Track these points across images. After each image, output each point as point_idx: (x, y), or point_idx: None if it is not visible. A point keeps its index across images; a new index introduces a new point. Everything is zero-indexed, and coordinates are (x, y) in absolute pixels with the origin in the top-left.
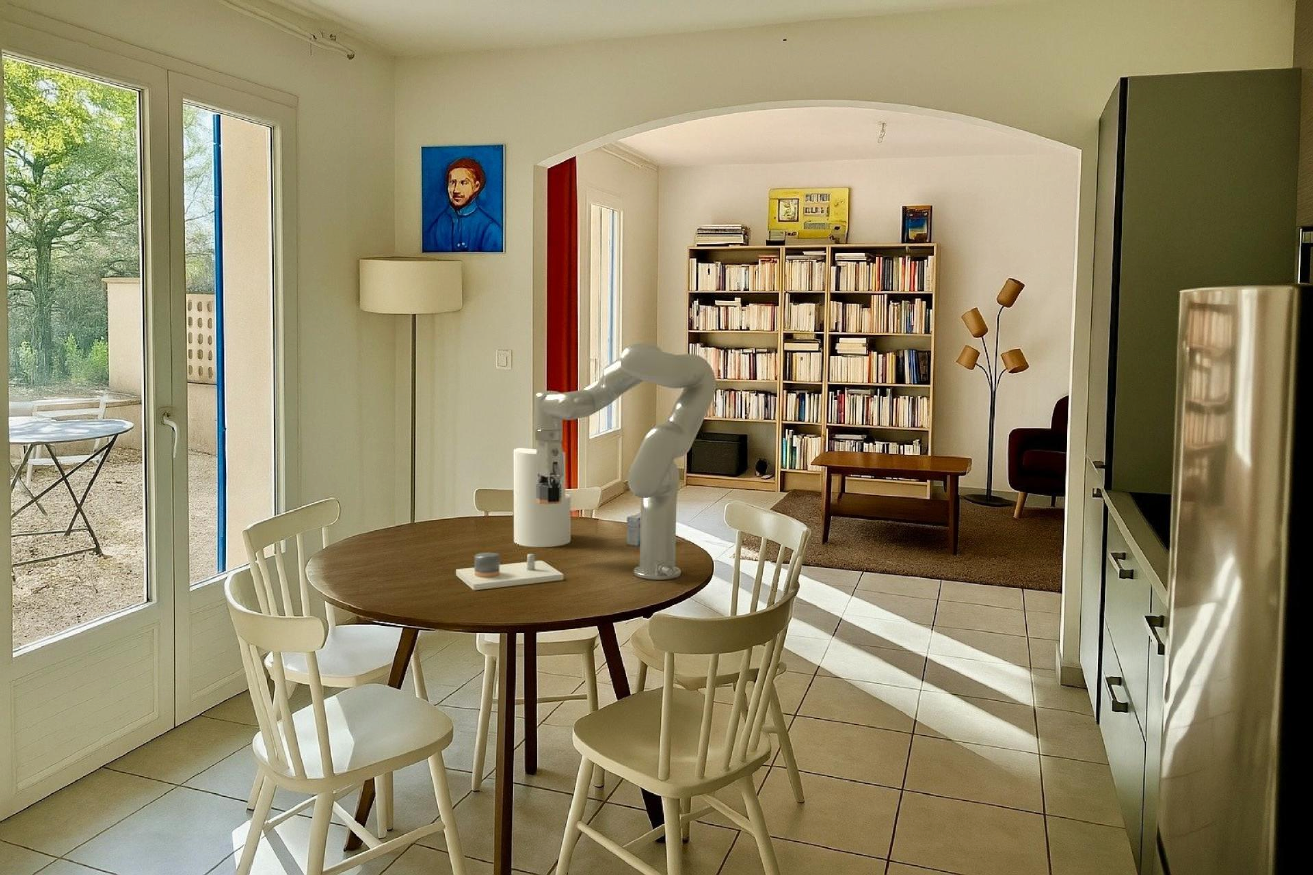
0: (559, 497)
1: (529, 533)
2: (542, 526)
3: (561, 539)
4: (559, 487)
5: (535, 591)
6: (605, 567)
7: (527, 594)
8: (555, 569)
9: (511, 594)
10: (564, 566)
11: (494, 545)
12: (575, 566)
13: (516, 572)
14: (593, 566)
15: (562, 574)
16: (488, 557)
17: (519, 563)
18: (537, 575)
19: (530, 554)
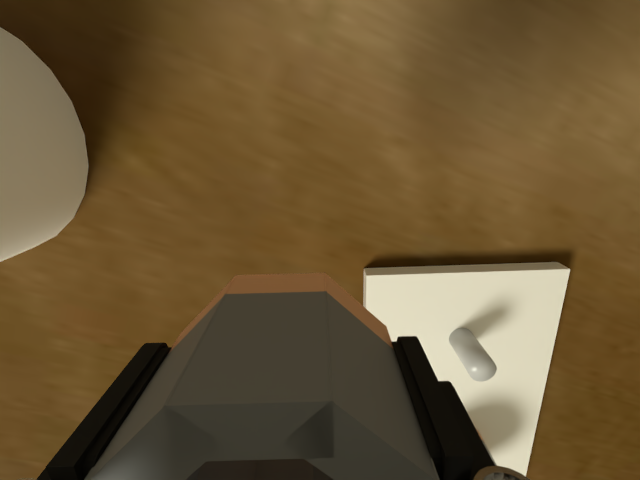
0: (358, 324)
1: (29, 237)
2: (18, 193)
3: (46, 88)
4: (379, 410)
5: (615, 363)
6: (492, 57)
7: (626, 386)
8: (501, 272)
9: (600, 416)
10: (404, 201)
11: (33, 324)
12: (422, 165)
13: (471, 381)
14: (454, 99)
15: (569, 271)
16: None
17: None
18: (536, 341)
19: (478, 370)
